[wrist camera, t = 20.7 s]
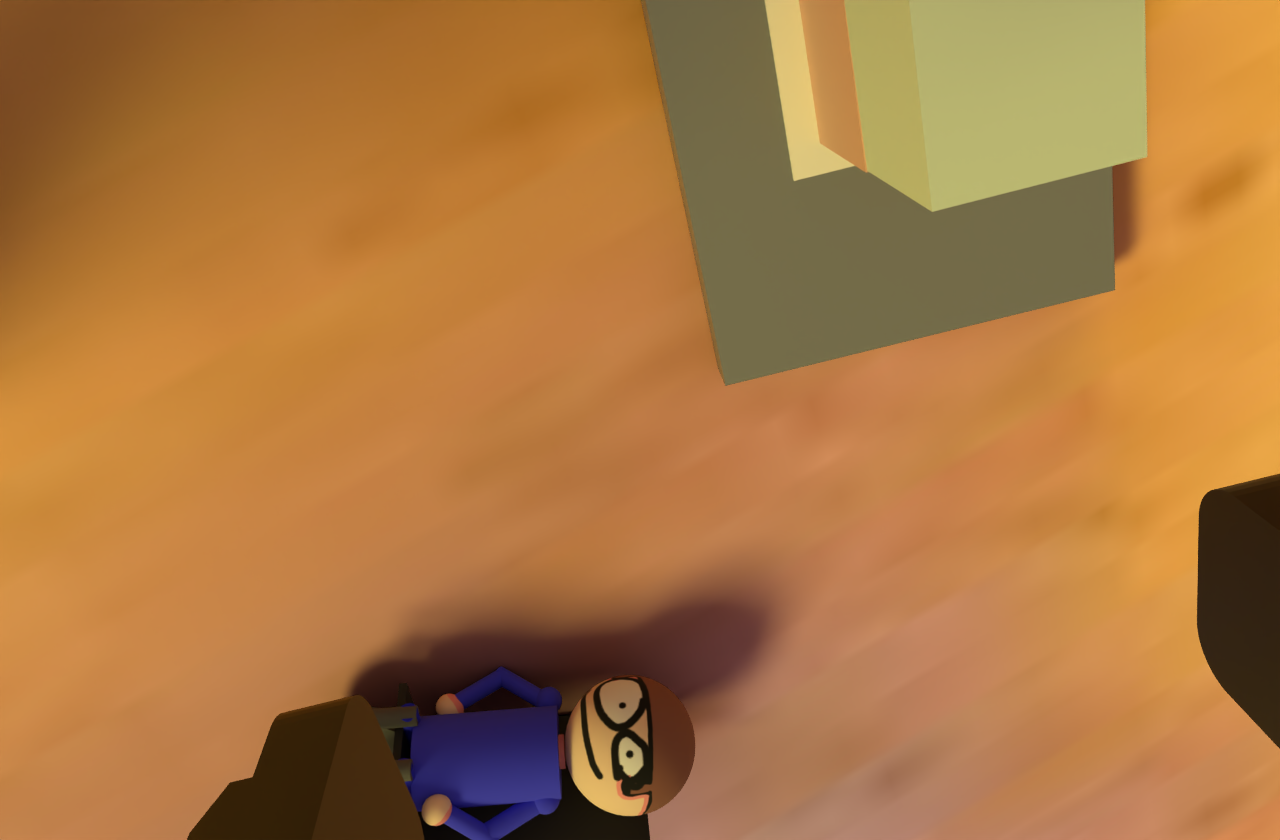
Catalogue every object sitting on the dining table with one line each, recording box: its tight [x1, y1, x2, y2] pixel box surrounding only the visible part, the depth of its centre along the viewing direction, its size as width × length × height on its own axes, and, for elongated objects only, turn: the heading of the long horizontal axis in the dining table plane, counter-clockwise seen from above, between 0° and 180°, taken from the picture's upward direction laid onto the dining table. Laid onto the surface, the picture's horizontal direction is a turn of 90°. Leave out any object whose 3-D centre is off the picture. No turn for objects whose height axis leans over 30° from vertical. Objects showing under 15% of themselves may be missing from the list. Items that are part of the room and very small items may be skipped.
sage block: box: [844, 0, 1147, 212], centre depth 24 cm, size 5×5×5 cm
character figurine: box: [371, 666, 695, 840], centre depth 39 cm, size 8×7×15 cm
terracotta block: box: [799, 0, 868, 173], centre depth 28 cm, size 5×5×5 cm
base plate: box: [641, 0, 1115, 386], centre depth 31 cm, size 14×20×2 cm
